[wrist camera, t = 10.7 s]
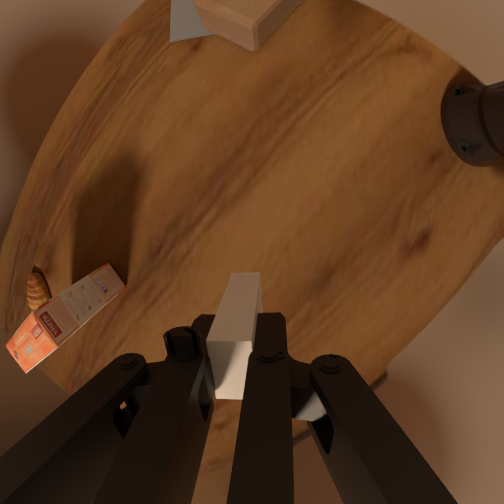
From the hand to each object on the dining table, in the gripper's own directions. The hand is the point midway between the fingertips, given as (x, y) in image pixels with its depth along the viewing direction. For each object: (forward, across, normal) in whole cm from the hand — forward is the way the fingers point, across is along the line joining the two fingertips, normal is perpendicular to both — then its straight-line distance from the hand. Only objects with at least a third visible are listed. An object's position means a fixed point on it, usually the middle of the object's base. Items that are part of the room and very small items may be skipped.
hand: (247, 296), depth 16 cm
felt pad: (+28, +7, -35) cm, 46 cm away
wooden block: (+23, +4, -28) cm, 36 cm away
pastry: (+29, +49, +13) cm, 59 cm away
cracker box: (+29, +32, +12) cm, 45 cm away
